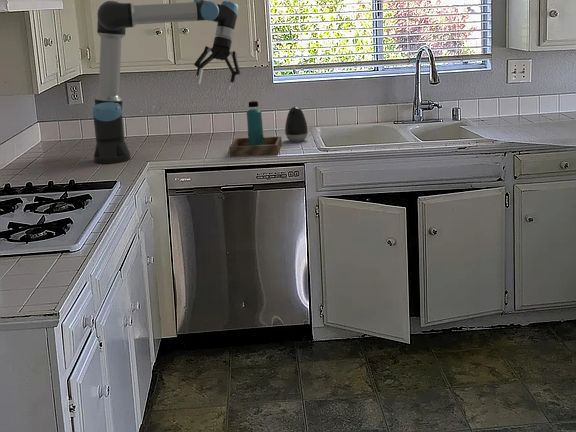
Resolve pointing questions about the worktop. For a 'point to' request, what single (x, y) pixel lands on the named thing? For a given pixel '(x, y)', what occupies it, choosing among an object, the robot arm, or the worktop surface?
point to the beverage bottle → (254, 125)
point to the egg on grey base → (296, 125)
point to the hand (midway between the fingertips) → (213, 86)
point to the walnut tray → (255, 147)
